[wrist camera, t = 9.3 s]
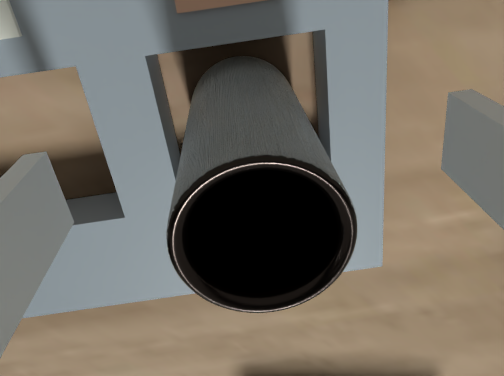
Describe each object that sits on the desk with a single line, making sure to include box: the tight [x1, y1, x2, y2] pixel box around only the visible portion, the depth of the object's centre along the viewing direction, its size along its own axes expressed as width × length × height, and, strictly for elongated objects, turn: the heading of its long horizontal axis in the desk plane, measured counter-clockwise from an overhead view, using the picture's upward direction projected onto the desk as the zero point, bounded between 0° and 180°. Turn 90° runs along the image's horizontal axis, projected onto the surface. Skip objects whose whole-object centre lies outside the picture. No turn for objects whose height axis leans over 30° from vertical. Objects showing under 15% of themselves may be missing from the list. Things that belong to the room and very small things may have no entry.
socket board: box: [0, 0, 388, 318], centre depth 18 cm, size 20×16×3 cm
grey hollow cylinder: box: [166, 56, 358, 313], centre depth 15 cm, size 4×4×10 cm
